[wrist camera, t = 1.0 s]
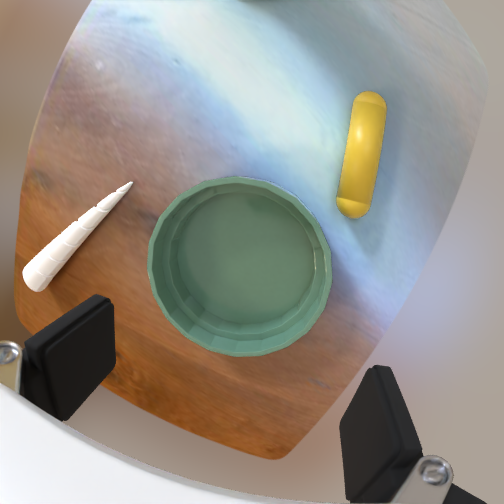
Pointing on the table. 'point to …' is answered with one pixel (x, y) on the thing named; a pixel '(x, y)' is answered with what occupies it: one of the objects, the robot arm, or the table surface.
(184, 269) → the green round dish
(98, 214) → the unicorn horn
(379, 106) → the yellow rounded capsule
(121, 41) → the table surface
